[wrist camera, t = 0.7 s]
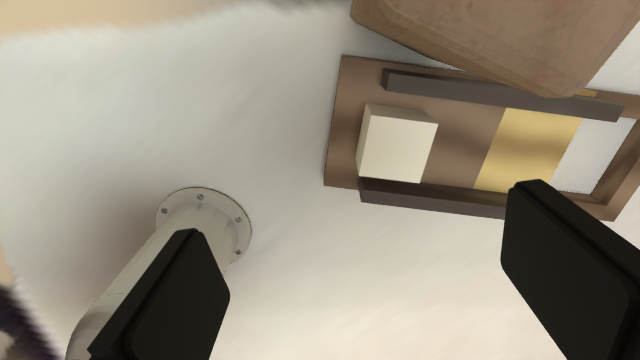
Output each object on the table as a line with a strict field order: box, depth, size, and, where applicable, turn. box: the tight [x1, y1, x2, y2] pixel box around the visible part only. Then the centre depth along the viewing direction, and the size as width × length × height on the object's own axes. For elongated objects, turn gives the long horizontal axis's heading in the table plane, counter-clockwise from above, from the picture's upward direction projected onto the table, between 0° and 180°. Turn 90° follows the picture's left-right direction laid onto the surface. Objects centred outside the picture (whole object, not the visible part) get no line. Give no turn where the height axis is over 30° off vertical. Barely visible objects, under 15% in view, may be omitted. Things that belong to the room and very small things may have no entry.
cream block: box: [355, 103, 438, 183], centre depth 30 cm, size 6×6×4 cm
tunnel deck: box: [324, 54, 640, 222], centre depth 32 cm, size 14×35×6 cm, turn 83°
